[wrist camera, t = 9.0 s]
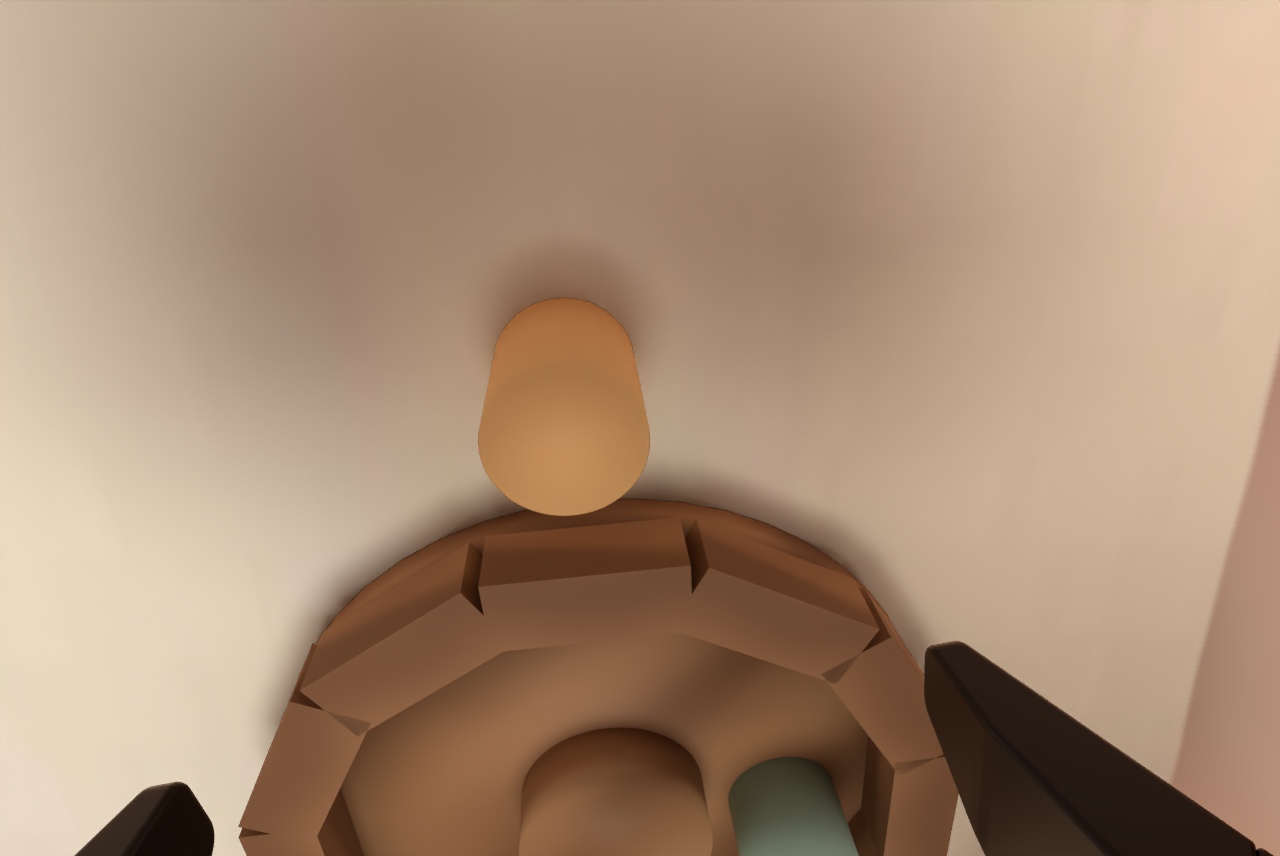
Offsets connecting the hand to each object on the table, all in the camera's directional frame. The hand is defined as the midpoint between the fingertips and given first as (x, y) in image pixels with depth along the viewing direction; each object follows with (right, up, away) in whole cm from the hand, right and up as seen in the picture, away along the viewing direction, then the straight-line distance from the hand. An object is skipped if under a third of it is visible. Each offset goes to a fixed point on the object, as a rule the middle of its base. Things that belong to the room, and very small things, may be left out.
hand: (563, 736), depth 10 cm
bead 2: (+5, -8, +16) cm, 19 cm away
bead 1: (-1, +5, +10) cm, 11 cm away
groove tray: (0, -7, +16) cm, 18 cm away
